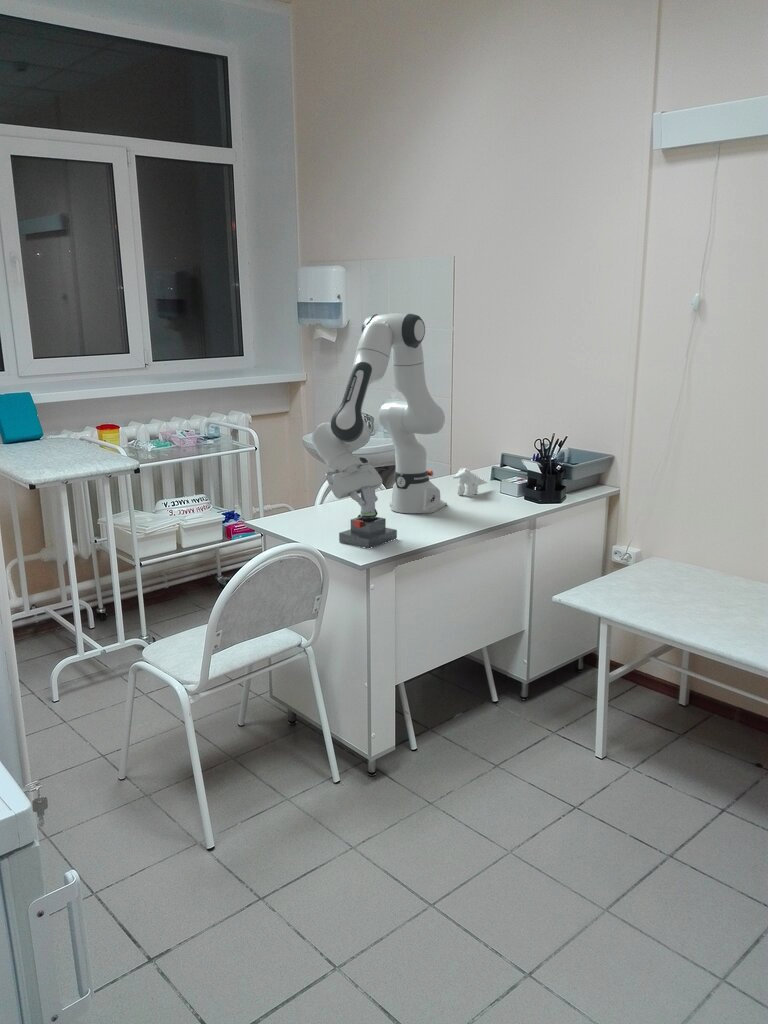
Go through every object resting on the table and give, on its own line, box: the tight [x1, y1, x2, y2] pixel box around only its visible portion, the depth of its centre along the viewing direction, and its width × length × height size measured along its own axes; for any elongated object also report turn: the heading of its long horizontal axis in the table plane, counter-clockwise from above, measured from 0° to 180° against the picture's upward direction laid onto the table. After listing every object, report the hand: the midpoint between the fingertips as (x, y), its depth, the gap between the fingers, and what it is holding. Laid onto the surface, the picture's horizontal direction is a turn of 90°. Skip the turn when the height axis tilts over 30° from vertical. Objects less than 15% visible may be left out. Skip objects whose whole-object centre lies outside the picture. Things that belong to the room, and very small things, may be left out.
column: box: [360, 486, 377, 522], centre depth 255 cm, size 5×5×14 cm
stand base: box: [338, 516, 398, 549], centre depth 257 cm, size 14×12×8 cm
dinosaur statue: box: [452, 467, 488, 497], centre depth 319 cm, size 7×24×11 cm, turn 139°
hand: (369, 502), depth 254 cm, fingers closed on column, 4 cm apart
